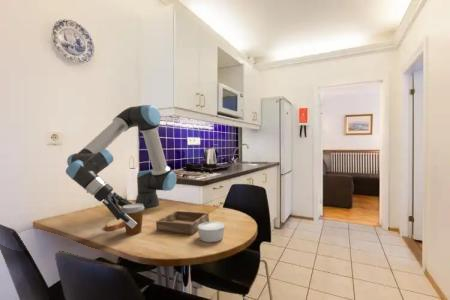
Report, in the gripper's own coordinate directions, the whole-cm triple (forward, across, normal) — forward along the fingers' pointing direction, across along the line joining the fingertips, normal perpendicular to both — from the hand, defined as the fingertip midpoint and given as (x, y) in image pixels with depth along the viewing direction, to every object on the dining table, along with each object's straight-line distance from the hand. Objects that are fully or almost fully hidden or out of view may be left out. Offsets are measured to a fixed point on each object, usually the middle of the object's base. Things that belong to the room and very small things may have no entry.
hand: (137, 221), depth 107 cm
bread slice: (-2, -16, -10) cm, 19 cm away
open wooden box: (+18, -2, +11) cm, 21 cm away
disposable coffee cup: (+2, 0, -5) cm, 6 cm away
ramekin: (+26, +15, +18) cm, 35 cm away
